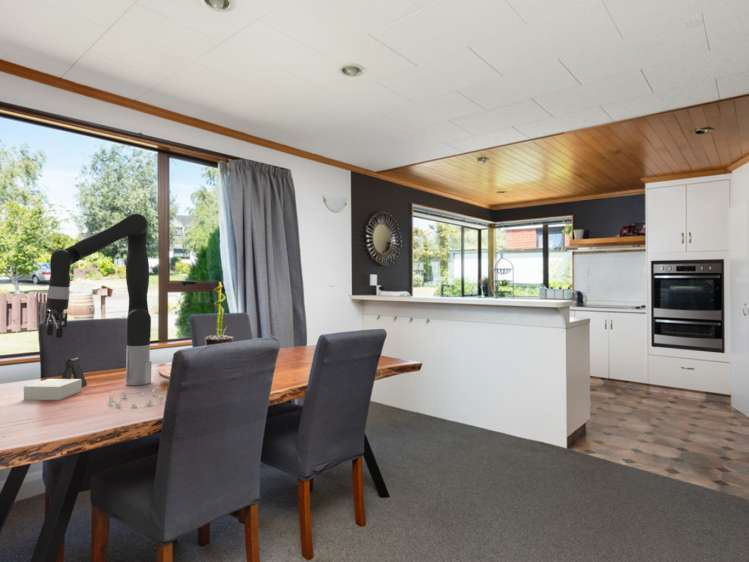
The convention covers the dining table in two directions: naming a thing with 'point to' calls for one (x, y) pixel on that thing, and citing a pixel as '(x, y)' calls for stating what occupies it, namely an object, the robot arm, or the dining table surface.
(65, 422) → the dining table surface
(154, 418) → the dining table surface
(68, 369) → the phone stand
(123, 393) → the game piece set
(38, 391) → the cream block
